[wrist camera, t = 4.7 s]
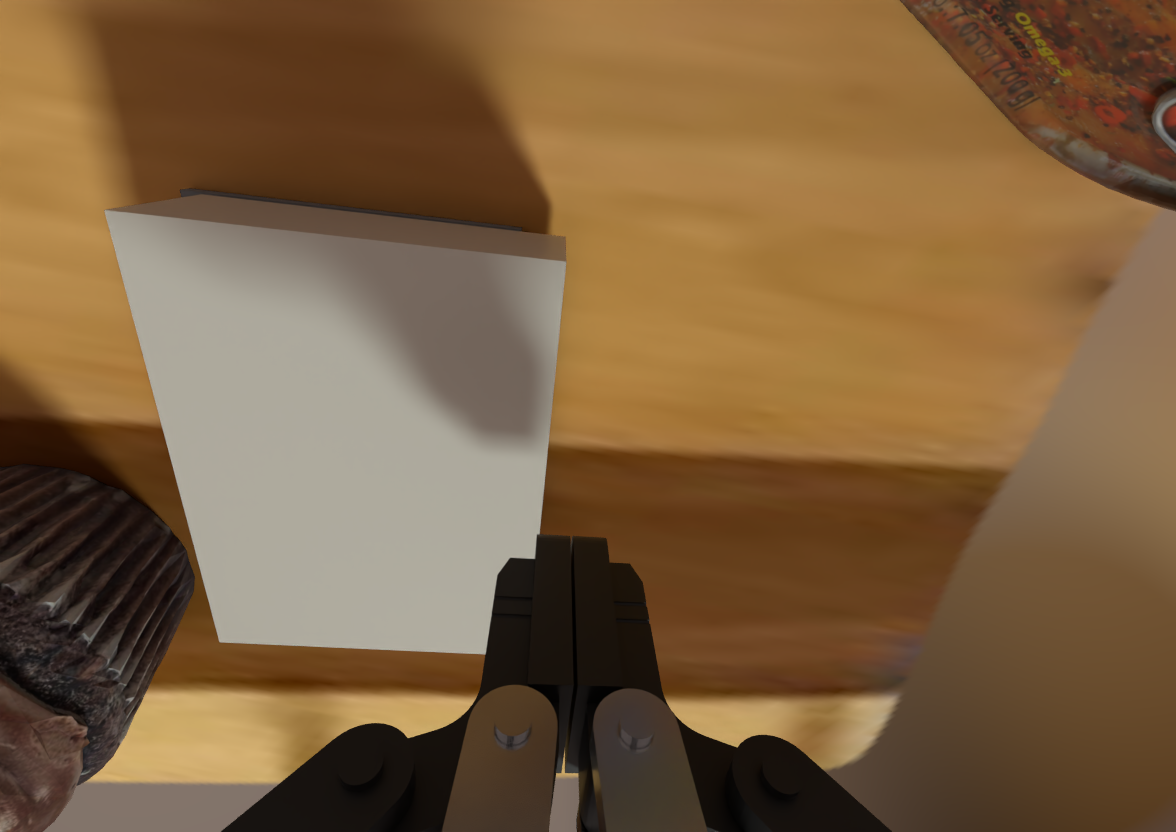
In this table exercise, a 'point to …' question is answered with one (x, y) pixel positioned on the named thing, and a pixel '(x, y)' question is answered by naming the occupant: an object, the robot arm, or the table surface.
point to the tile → (347, 411)
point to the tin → (1076, 80)
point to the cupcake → (76, 630)
